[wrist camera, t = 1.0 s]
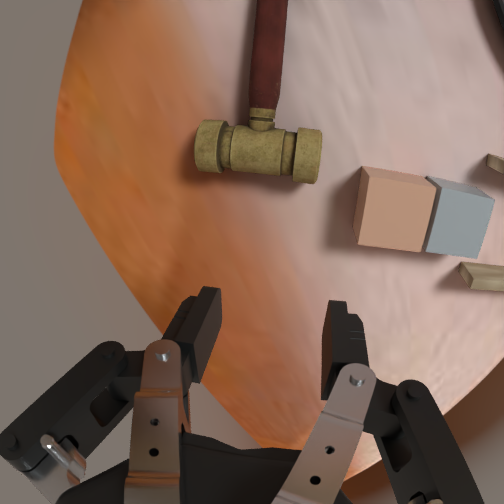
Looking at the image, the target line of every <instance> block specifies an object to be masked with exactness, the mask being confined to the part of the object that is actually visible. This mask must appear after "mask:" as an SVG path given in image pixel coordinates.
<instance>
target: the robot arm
mask: <svg viewBox="0 0 504 504" xmlns="http://www.w3.org/2000/svg"><path fill="white" fill-rule="evenodd" d="M221 323H222V303H221V289H220V288H215V287H207V286H203V287H202V289H201V291H200V293H199V294H198V296H197V297H196V296H190V297H188V298H187V299H186V300H184V301H183V302H182V303H181V305H180V307H179V309H178V311H177V312H176V314H175V316H174V318H173V319H172V321H171V323H170V324H169V326H168V328H167V330H166V332H165V333H164V335H163V337H162V339H161V340H157V341H155V342H153V343H151V344H149V345H148V346H147V348H146V350H144V351H125V349H124V347H123V345H122V344H120V343H119V342H116V341H107V342H103V343H101V344H99V345H98V346H97V347H95V348H94V349H93V350H92V351H91V352H90V353H89V354H87V355H86V356H85V357H84V358H83V359H82V360H81V361H79V362H78V363H77V364H76V365H75V366H74V367H73V368H72V369H70V370H69V371H68V372H67V373H66V374H65V375H64V376H63V377H62V378H60V379H59V380H58V381H57V382H56V383H55V384H54V385H53V386H51V387H50V388H49V389H48V390H47V391H46V392H45V393H44V394H43V395H41V396H40V397H39V398H38V399H37V400H36V401H35V402H34V403H33V404H32V405H30V406H29V407H28V408H27V409H26V410H25V411H24V412H23V413H22V414H21V415H20V416H19V417H17V418H16V419H15V420H14V421H13V422H12V423H11V424H10V425H9V426H8V427H7V428H6V429H5V430H4V431H3V432H2V433H1V434H0V455H1V456H2V457H3V458H4V459H5V460H6V461H8V462H9V463H10V464H11V465H12V466H13V468H15V469H16V470H17V471H18V472H19V473H21V474H22V475H23V476H24V477H26V478H27V479H28V480H30V482H32V484H33V485H34V486H35V487H36V488H37V489H38V490H39V491H40V492H41V493H42V494H43V495H44V496H45V497H46V499H47V500H48V501H49V502H50V503H51V504H352V502H351V501H350V500H349V499H348V498H347V496H346V495H345V494H344V493H343V491H342V490H341V489H340V487H341V485H342V483H343V480H344V478H345V475H346V473H347V471H348V468H349V466H350V463H351V461H352V458H353V456H354V453H355V450H356V448H357V445H358V442H359V439H360V437H361V434H362V431H364V432H367V433H370V434H373V435H374V438H375V441H376V444H377V446H378V449H379V452H380V455H381V457H382V460H383V463H384V465H385V468H386V471H387V474H388V477H389V479H390V482H391V485H392V488H393V491H394V494H395V497H396V500H397V503H398V504H484V502H483V499H482V497H481V495H480V492H479V490H478V488H477V485H476V483H475V481H474V479H473V476H472V474H471V472H470V470H469V468H468V466H467V463H466V461H465V459H464V457H463V455H462V453H461V451H460V449H459V447H458V445H457V443H456V441H455V439H454V437H453V435H452V433H451V431H450V429H449V427H448V425H447V423H446V421H445V419H444V418H443V415H442V413H441V412H440V410H439V408H438V406H437V404H436V402H435V400H434V399H433V397H432V395H431V393H430V391H429V390H428V388H427V387H426V386H425V385H424V384H423V383H421V382H419V381H417V380H405V381H403V382H401V383H400V384H399V385H398V386H396V385H392V384H389V383H386V382H383V381H381V380H379V379H378V378H376V375H375V373H374V372H373V370H371V369H370V368H369V361H368V354H367V347H366V340H365V334H364V327H363V322H362V321H361V319H360V318H359V317H358V315H357V314H349V313H348V311H347V303H346V301H335V300H329V302H328V307H327V312H326V317H325V322H324V326H323V333H322V375H321V400H328V401H327V403H326V405H325V407H324V409H323V411H322V412H321V414H320V416H319V418H318V420H317V422H316V424H315V426H314V428H313V430H312V432H311V434H310V436H309V438H308V440H307V442H306V444H305V446H304V448H303V450H292V449H282V448H273V447H271V448H261V449H246V450H241V449H237V448H234V447H232V446H230V445H227V444H225V443H223V442H220V441H218V440H216V439H213V438H210V437H206V436H200V435H196V434H192V433H191V424H190V423H191V422H190V402H189V401H190V400H189V388H190V385H191V383H192V382H195V383H200V382H201V379H202V376H203V373H204V371H205V368H206V365H207V363H208V360H209V357H210V355H211V352H212V349H213V347H214V344H215V341H216V339H217V336H218V333H219V331H220V328H221ZM132 408H133V416H132V427H131V440H130V455H129V459H127V460H125V461H123V462H121V463H119V464H118V465H116V466H114V467H112V468H110V469H108V470H106V471H104V472H102V473H100V474H98V475H96V476H94V477H92V478H90V479H88V480H86V481H84V482H82V483H80V479H82V478H83V477H84V475H85V470H86V460H85V459H86V458H87V457H88V456H89V455H90V454H91V453H92V452H93V451H94V449H95V448H96V447H97V446H98V445H99V444H100V443H101V442H102V441H103V440H104V439H105V438H106V436H107V435H108V434H109V433H110V432H111V431H112V430H113V429H114V428H115V427H116V426H117V424H118V423H119V422H120V421H121V420H122V419H123V418H124V417H125V416H126V414H128V412H129V411H130V410H131V409H132Z"/></svg>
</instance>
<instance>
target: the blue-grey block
mask: <svg viewBox="0 0 504 504" xmlns="http://www.w3.org/2000/svg"><path fill="white" fill-rule="evenodd" d="M426 180H427V181H429V182H430V183H431V184H432V185H434V186H435V187H436V193H435V198H434V202H433V206H432V211H431V215H430V219H429V223H428V227H427V231H426V234H425V238H424V242H423V245H422V247H423V248H424V250H425V251H426V252H431V253H438V254H446V255H453V256H460V257H467V258H474V259H477V257H478V254H479V251H480V249H481V246H482V243H483V239H484V236H485V233H486V230H487V227H488V223H489V220H490V216H491V213H492V209H493V205H494V202H495V200H494V199H493V198H492V197H490V196H489V195H487V194H486V193H485V192H483V191H482V190H480V189H479V188H477V187H474V186H470V185H466V184H462V183H458V182H453V181H449V180H444V179H440V178H435V177H430V176H427V179H426Z"/></svg>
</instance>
